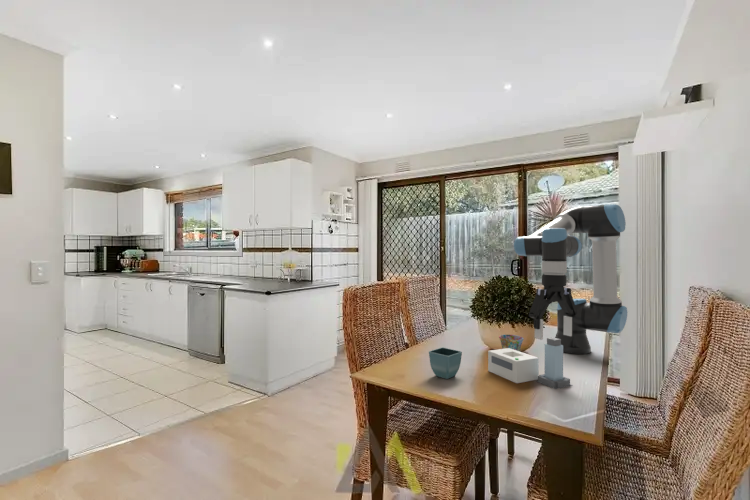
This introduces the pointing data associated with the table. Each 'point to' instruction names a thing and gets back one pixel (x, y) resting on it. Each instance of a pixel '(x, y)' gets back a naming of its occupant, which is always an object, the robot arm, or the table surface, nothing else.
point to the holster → (554, 382)
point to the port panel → (513, 365)
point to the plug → (554, 359)
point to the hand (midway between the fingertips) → (553, 337)
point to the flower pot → (445, 362)
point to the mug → (511, 341)
